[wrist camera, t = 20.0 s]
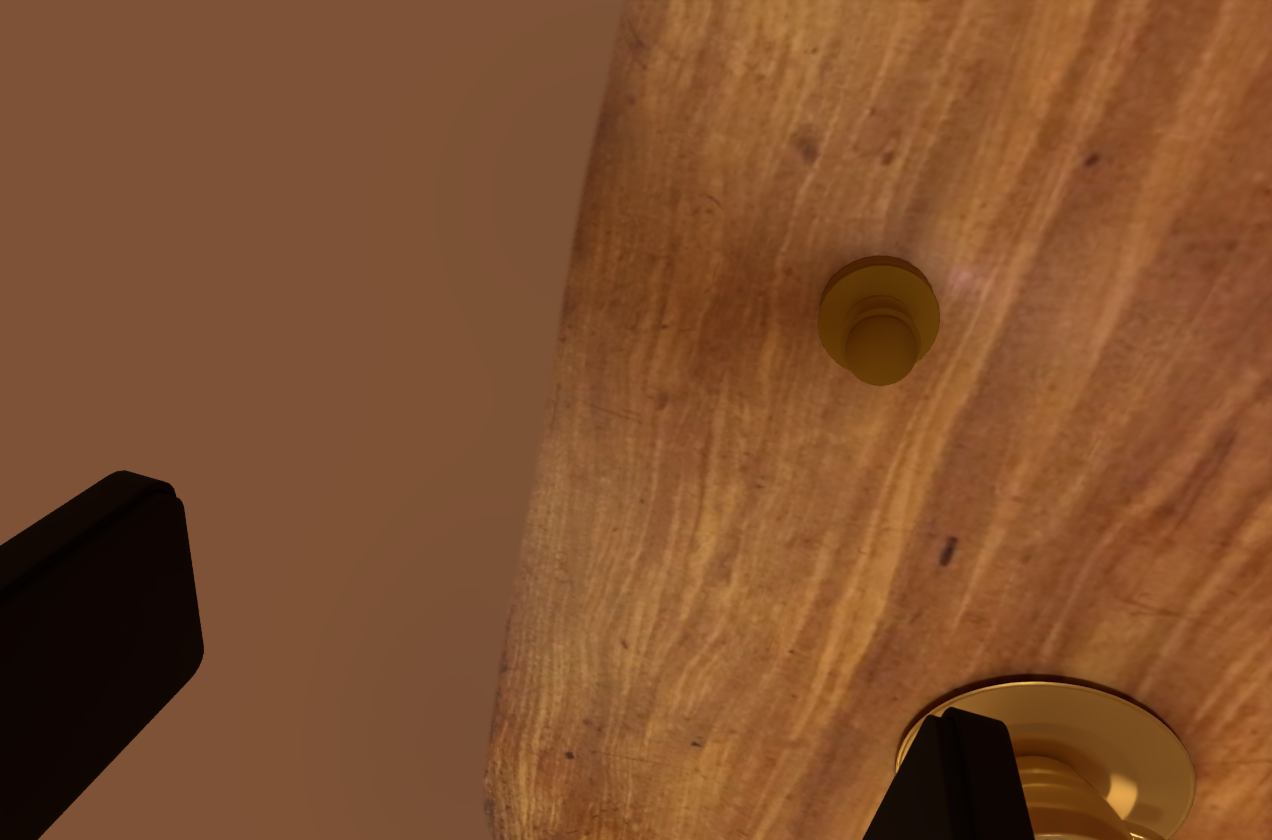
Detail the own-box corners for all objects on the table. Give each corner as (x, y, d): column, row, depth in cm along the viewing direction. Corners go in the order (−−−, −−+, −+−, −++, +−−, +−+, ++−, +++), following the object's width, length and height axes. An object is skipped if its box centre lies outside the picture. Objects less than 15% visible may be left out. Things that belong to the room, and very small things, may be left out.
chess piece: (936, 250, 26) (955, 295, 22) (935, 359, 28) (951, 421, 24) (816, 259, 28) (811, 304, 23) (821, 364, 29) (817, 425, 25)
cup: (877, 834, 39) (881, 945, 35) (919, 652, 34) (931, 754, 29) (1143, 890, 37) (1186, 1018, 32) (1234, 704, 31) (1302, 824, 27)
